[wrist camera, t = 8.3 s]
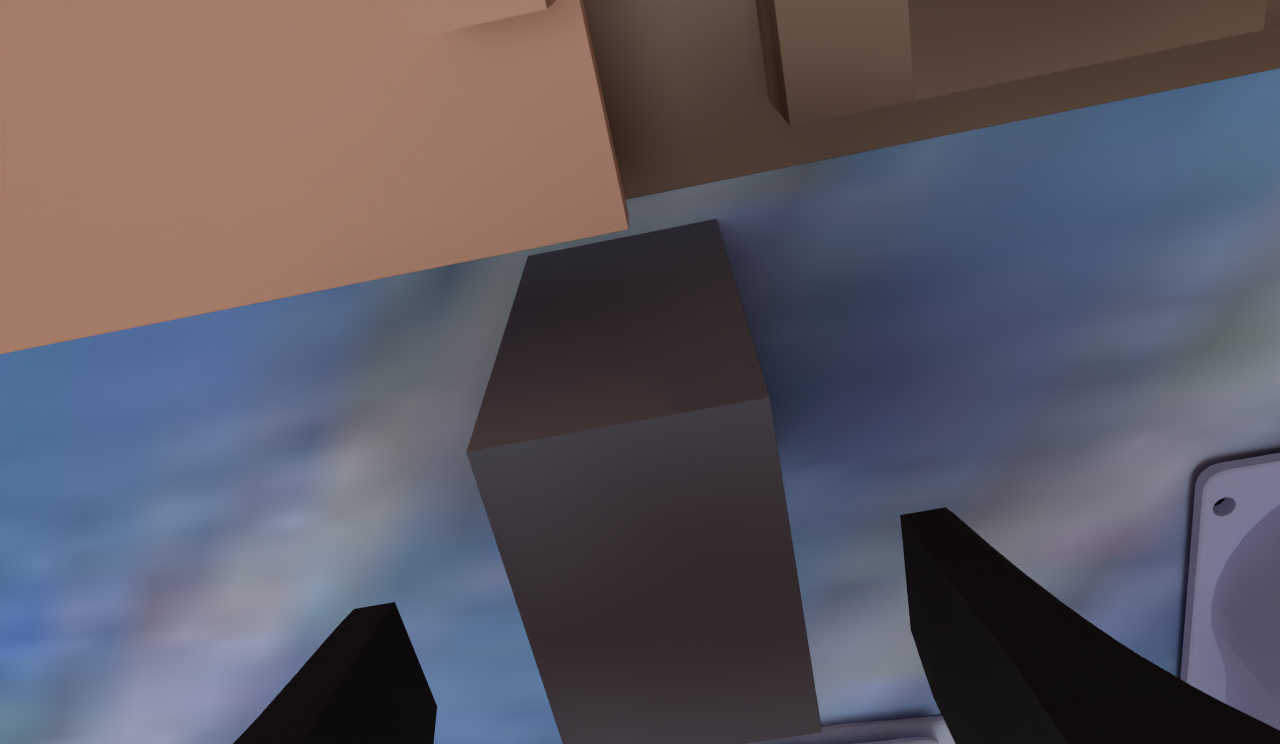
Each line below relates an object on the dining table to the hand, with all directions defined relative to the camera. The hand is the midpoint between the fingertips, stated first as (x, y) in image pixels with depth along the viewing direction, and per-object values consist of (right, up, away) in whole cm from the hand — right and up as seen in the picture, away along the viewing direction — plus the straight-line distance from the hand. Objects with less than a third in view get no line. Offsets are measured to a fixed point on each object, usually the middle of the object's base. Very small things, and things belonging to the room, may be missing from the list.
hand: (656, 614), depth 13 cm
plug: (0, +4, +7) cm, 8 cm away
